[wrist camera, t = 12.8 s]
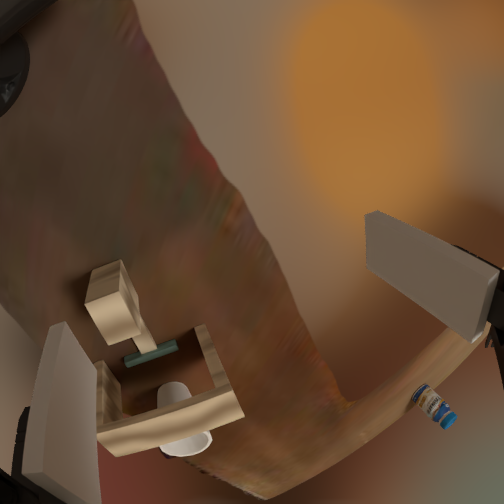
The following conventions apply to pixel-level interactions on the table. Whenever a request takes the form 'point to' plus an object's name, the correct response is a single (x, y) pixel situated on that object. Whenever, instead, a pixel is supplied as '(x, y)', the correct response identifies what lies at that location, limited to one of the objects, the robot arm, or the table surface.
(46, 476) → the robot arm
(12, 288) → the table surface
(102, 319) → the squeegee
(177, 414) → the shelf
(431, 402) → the beverage bottle
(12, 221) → the table surface
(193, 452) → the foam cup
